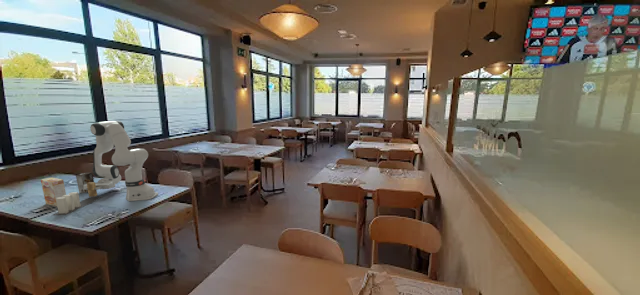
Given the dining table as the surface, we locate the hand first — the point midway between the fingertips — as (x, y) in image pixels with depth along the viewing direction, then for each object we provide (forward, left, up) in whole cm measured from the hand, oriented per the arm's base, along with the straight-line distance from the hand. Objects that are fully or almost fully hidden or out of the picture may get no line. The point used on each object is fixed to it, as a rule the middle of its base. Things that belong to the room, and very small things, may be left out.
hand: (91, 189), depth 209 cm
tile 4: (0, +25, -8) cm, 26 cm away
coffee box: (+19, -19, -9) cm, 29 cm away
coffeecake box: (+21, +7, -9) cm, 24 cm away
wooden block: (0, -1, -6) cm, 6 cm away
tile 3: (0, +20, -8) cm, 22 cm away
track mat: (0, +12, -9) cm, 15 cm away
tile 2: (0, +15, -8) cm, 17 cm away
